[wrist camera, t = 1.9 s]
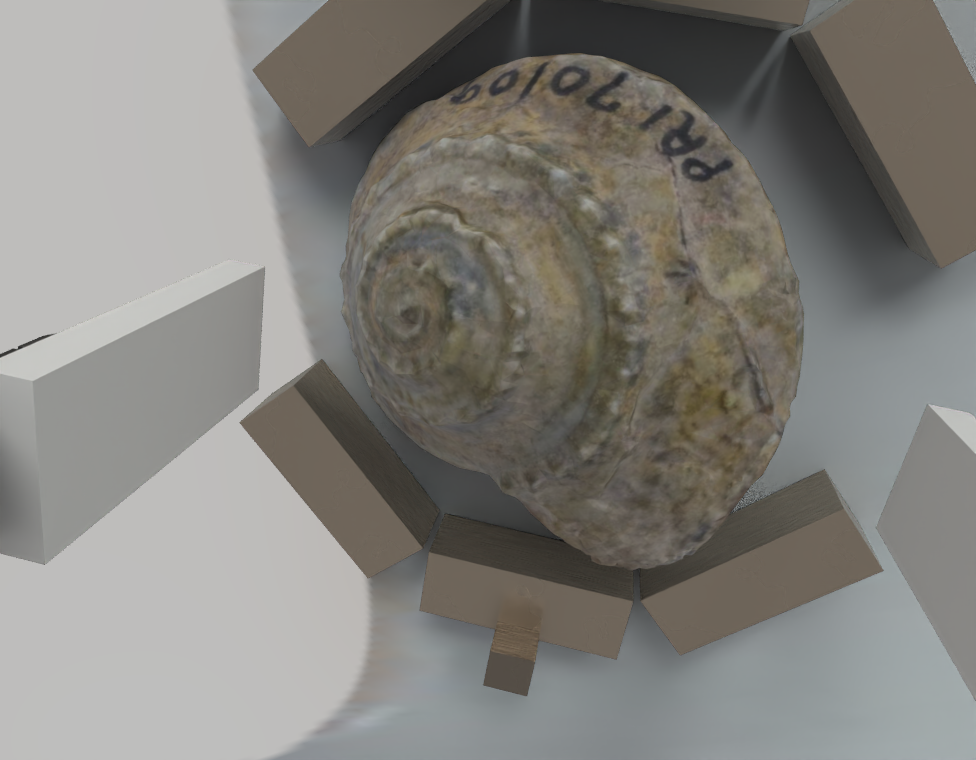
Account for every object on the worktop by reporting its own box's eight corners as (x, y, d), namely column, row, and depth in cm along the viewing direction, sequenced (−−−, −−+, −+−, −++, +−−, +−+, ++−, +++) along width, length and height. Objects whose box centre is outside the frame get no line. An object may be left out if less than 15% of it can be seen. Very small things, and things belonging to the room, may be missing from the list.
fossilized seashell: (698, -53, 15) (708, 107, 10) (835, 331, 21) (882, 551, 16) (298, 158, 20) (174, 334, 15) (498, 420, 26) (455, 609, 21)
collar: (303, -202, 17) (233, -261, 14) (1116, -83, 15) (1234, -123, 12) (263, 550, 24) (212, 615, 21) (796, 681, 23) (820, 771, 20)
